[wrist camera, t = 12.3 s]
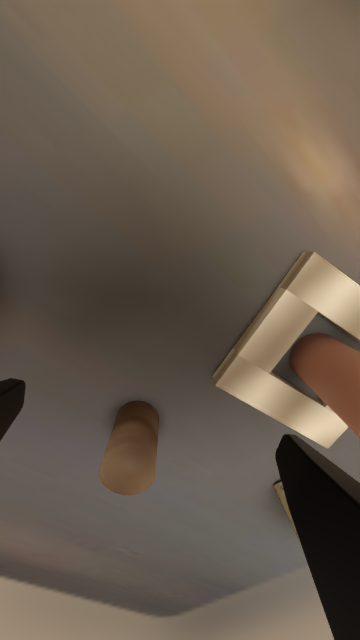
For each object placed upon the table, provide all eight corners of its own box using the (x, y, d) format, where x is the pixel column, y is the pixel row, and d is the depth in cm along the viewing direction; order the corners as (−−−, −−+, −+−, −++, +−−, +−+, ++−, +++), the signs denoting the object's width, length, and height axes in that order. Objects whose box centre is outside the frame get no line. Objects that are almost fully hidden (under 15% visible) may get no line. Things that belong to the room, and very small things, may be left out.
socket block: (212, 376, 23) (215, 385, 21) (303, 251, 20) (314, 252, 18) (318, 436, 25) (327, 448, 23) (413, 332, 22) (431, 338, 21)
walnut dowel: (109, 425, 24) (89, 481, 18) (130, 393, 23) (115, 442, 17) (145, 442, 24) (137, 502, 19) (166, 412, 24) (165, 465, 18)
